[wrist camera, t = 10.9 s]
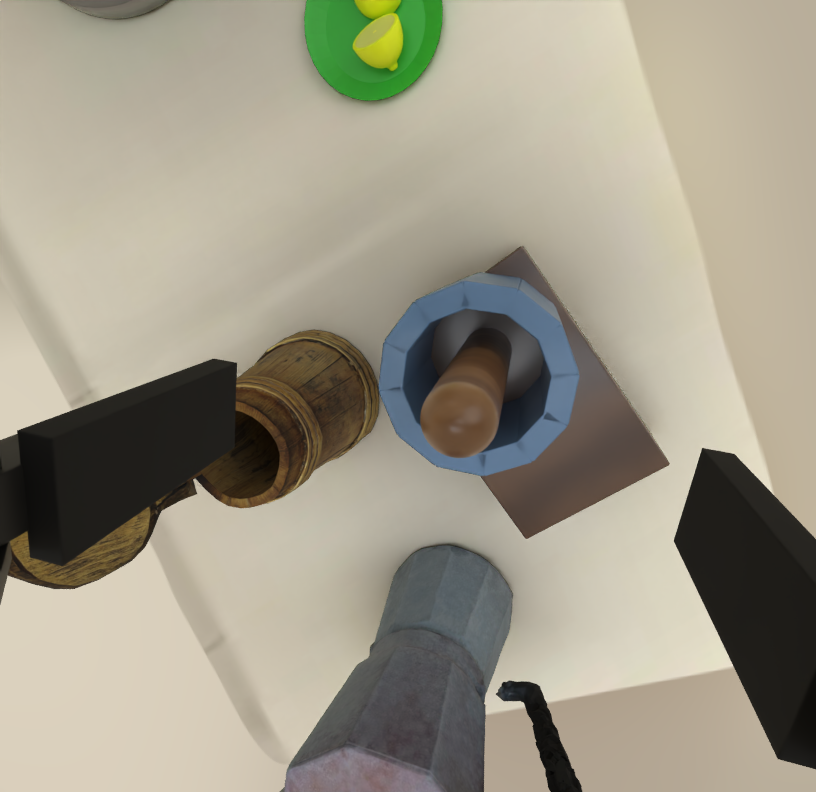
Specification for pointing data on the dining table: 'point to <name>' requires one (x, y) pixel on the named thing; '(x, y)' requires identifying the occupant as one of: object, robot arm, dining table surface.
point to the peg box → (509, 380)
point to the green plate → (372, 43)
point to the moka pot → (426, 690)
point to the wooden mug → (249, 447)
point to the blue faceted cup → (520, 419)
